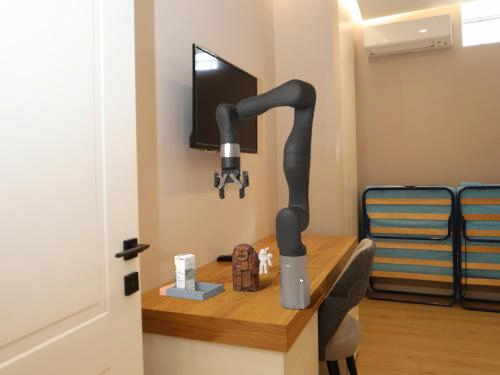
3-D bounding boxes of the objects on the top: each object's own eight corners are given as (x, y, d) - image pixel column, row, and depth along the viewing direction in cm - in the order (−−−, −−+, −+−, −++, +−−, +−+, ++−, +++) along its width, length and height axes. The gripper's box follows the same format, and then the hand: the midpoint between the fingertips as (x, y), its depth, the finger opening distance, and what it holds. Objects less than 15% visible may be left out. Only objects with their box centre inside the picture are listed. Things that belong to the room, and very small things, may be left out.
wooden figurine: (228, 291, 153) (227, 244, 153) (233, 286, 159) (232, 242, 159) (257, 292, 150) (256, 245, 150) (262, 288, 156) (260, 242, 156)
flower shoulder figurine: (273, 272, 183) (273, 246, 183) (272, 274, 179) (271, 248, 179) (255, 271, 185) (254, 246, 185) (252, 273, 181) (252, 247, 181)
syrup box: (185, 289, 158) (184, 253, 157) (196, 291, 154) (195, 254, 154) (175, 292, 153) (173, 255, 153) (185, 295, 149) (184, 256, 149)
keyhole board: (223, 290, 154) (223, 284, 154) (202, 300, 141) (202, 293, 141) (182, 285, 163) (182, 279, 163) (159, 294, 151) (159, 288, 151)
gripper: (251, 155, 151) (252, 198, 151) (220, 158, 157) (221, 198, 158) (241, 154, 144) (243, 199, 144) (209, 157, 151) (210, 199, 151)
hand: (231, 198), depth 151 cm, fingers open, 8 cm apart
